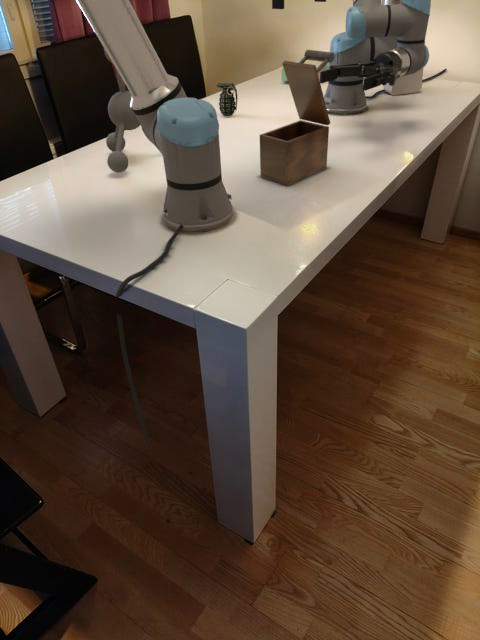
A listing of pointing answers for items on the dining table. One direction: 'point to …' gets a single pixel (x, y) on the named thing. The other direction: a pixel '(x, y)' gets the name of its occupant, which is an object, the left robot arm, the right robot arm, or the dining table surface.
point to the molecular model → (120, 125)
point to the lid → (308, 86)
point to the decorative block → (307, 63)
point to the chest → (293, 152)
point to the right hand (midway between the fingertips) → (342, 81)
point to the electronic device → (406, 84)
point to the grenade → (227, 99)
